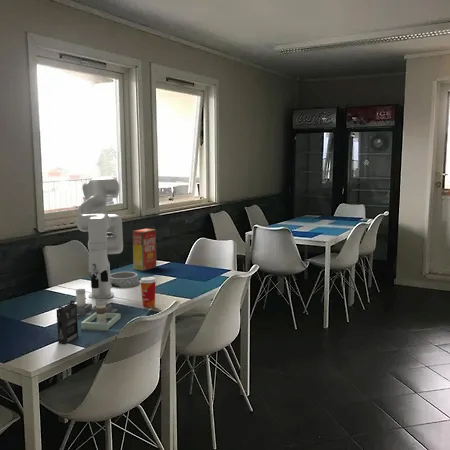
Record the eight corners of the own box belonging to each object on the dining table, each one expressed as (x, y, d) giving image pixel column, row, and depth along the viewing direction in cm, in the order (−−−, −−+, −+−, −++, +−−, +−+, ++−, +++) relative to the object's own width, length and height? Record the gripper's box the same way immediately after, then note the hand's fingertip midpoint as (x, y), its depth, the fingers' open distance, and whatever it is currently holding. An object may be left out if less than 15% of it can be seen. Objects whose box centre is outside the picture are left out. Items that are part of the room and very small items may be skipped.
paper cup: (139, 305, 246) (138, 277, 244) (154, 303, 249) (153, 275, 247) (143, 310, 239) (142, 281, 237) (158, 307, 242) (158, 279, 240)
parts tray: (95, 318, 226) (95, 312, 226) (120, 320, 224) (120, 313, 224) (81, 329, 213) (81, 322, 212) (108, 331, 211) (107, 324, 210)
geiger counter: (70, 334, 207) (68, 299, 204) (80, 335, 205) (78, 300, 203) (54, 343, 197) (52, 306, 195) (64, 345, 195) (62, 307, 193)
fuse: (79, 309, 237) (78, 288, 236) (87, 309, 236) (86, 288, 235) (75, 311, 233) (74, 290, 232) (83, 312, 232) (82, 291, 231)
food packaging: (143, 271, 318) (142, 231, 314) (132, 269, 323) (131, 230, 319) (157, 267, 329) (156, 229, 325) (146, 265, 334) (145, 228, 330)
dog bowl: (129, 289, 277) (129, 279, 276) (101, 286, 283) (100, 277, 282) (145, 281, 293) (144, 272, 292) (117, 279, 299) (117, 270, 298)
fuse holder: (74, 309, 241) (74, 301, 240) (118, 311, 237) (118, 304, 236) (64, 315, 231) (64, 308, 231) (109, 318, 227) (109, 310, 227)
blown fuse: (99, 321, 221) (98, 299, 220) (108, 321, 220) (107, 299, 219) (95, 324, 217) (94, 301, 216) (104, 324, 216) (103, 302, 215)
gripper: (98, 241, 223) (100, 278, 226) (80, 249, 206) (82, 290, 209) (114, 242, 221) (115, 279, 224) (98, 250, 205) (99, 291, 208)
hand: (99, 284), depth 217 cm, fingers open, 9 cm apart
